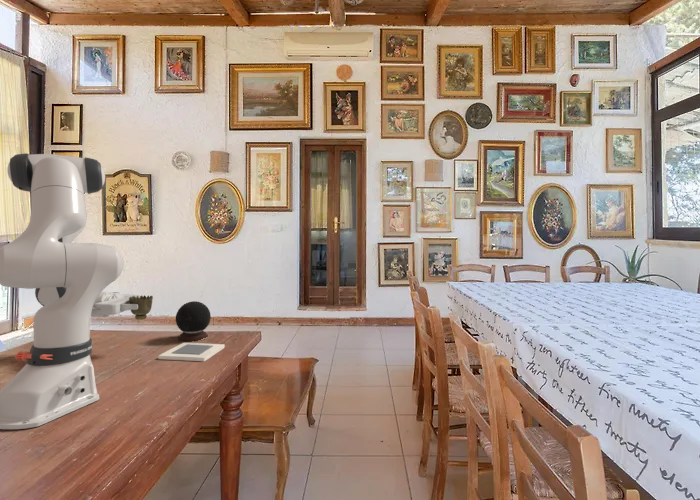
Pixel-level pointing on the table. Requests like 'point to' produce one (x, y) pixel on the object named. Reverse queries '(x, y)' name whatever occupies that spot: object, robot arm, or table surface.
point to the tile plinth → (192, 352)
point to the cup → (141, 306)
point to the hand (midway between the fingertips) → (143, 304)
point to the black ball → (193, 321)
